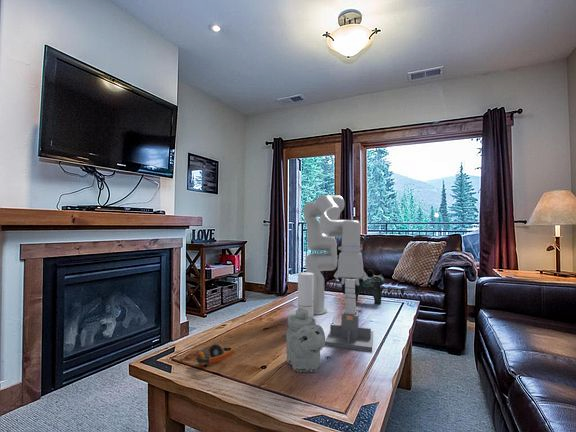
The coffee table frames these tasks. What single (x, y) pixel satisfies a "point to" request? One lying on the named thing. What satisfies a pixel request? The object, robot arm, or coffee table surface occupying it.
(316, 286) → the robot arm
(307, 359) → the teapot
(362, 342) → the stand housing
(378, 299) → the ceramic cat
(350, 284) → the steel post
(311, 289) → the cylindrical container
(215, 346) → the headphones
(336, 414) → the coffee table surface
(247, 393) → the coffee table surface
